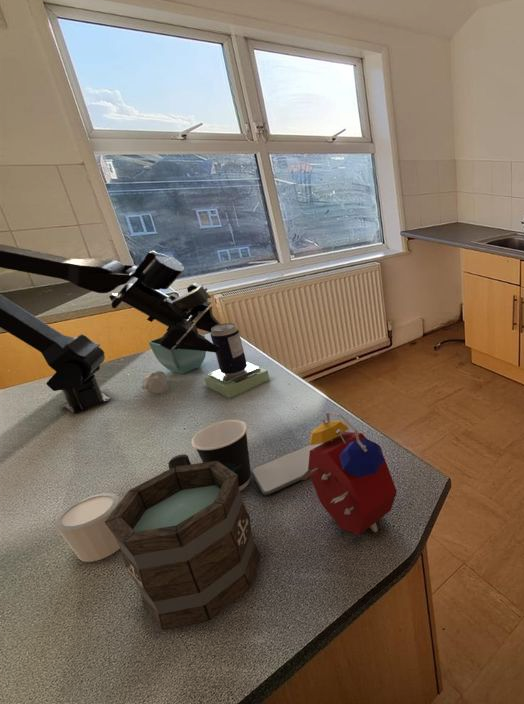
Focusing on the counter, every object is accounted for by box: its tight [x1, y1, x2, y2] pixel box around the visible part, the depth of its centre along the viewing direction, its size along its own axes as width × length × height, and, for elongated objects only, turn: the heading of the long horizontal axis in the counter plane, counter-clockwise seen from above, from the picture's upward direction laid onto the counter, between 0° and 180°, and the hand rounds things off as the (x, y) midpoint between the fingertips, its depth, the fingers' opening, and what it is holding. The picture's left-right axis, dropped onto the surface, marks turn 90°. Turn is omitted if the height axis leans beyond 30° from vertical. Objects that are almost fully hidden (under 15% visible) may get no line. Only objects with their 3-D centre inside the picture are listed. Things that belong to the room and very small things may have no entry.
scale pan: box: [207, 361, 260, 384], centre depth 107 cm, size 8×8×1 cm
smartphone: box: [250, 443, 323, 496], centre depth 81 cm, size 8×1×15 cm
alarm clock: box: [301, 410, 398, 536], centre depth 66 cm, size 15×9×20 cm, turn 53°
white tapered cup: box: [54, 492, 121, 563], centre depth 63 cm, size 7×7×7 cm
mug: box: [105, 453, 261, 631], centre depth 59 cm, size 20×14×15 cm
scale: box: [203, 360, 270, 399], centre depth 107 cm, size 10×10×3 cm
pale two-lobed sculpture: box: [141, 370, 168, 394], centre depth 104 cm, size 4×8×5 cm
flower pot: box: [147, 333, 207, 375], centre depth 112 cm, size 9×9×9 cm
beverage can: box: [210, 322, 247, 375], centre depth 104 cm, size 6×6×12 cm
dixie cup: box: [191, 419, 252, 492], centre depth 74 cm, size 8×8×11 cm
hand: (223, 342), depth 103 cm, fingers open, 9 cm apart
